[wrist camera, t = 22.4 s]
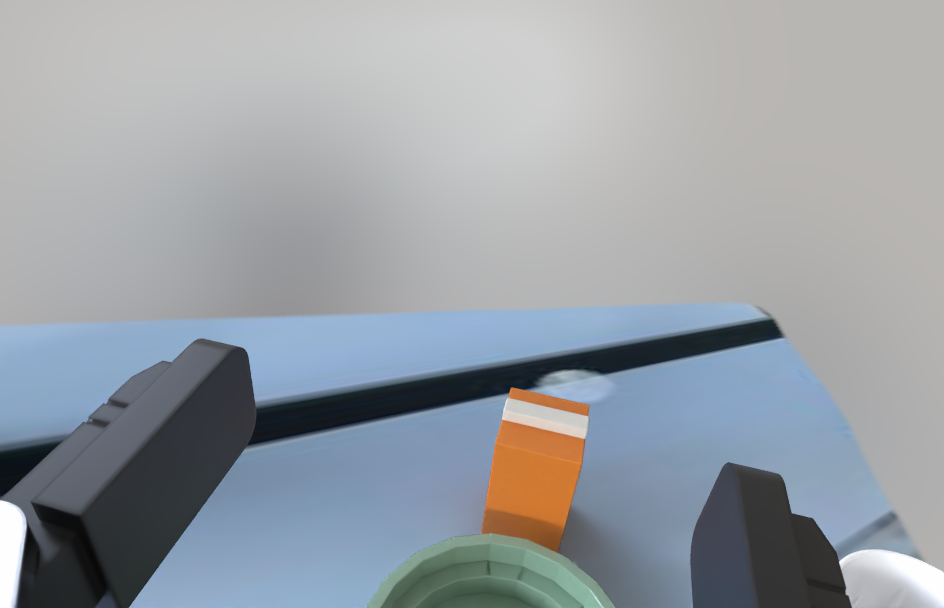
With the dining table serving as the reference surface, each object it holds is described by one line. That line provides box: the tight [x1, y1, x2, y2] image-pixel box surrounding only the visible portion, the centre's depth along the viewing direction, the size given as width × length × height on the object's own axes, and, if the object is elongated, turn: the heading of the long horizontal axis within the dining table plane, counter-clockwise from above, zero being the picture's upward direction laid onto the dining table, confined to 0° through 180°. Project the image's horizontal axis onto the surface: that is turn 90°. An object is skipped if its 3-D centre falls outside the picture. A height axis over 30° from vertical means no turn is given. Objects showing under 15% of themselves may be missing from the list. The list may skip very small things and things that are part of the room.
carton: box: [481, 388, 589, 553], centre depth 40 cm, size 5×5×10 cm
